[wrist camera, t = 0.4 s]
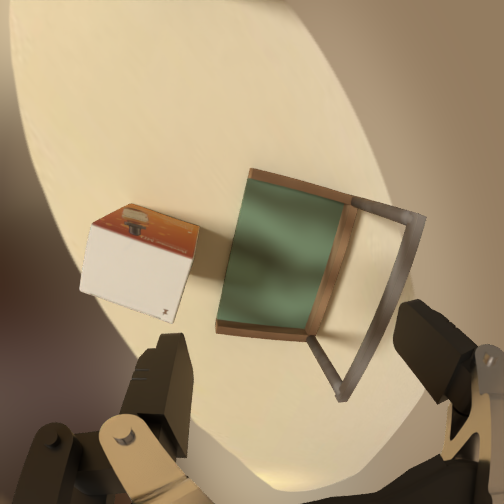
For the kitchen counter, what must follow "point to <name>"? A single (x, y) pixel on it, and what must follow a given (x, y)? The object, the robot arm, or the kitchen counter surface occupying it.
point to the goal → (303, 266)
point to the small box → (139, 260)
